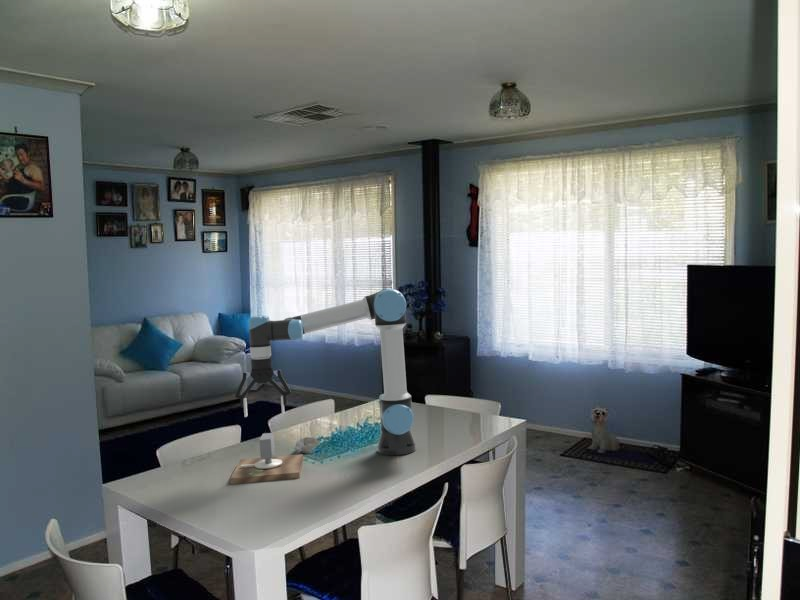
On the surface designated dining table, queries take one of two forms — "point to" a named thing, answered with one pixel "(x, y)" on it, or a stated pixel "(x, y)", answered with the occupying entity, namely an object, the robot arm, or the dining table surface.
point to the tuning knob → (266, 453)
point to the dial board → (268, 470)
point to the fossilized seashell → (306, 445)
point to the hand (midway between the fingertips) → (264, 415)
